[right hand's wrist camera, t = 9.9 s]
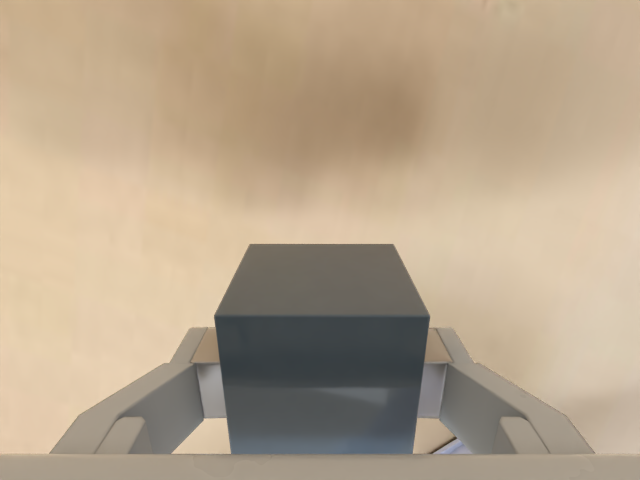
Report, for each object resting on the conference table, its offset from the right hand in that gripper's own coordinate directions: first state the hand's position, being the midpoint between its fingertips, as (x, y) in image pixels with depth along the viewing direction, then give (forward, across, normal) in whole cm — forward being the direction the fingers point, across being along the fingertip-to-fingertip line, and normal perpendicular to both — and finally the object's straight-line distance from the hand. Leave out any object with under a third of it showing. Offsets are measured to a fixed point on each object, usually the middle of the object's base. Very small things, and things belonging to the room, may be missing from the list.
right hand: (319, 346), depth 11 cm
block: (+2, 0, 0) cm, 2 cm away
